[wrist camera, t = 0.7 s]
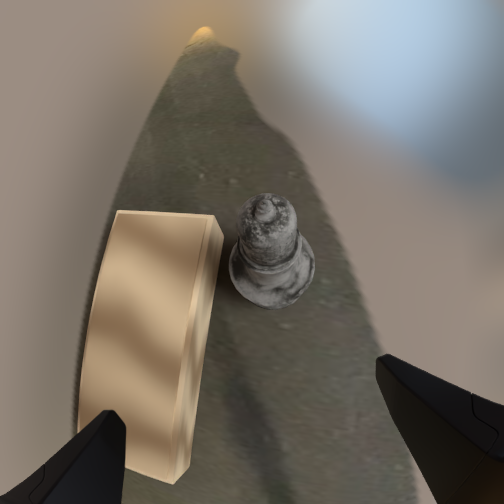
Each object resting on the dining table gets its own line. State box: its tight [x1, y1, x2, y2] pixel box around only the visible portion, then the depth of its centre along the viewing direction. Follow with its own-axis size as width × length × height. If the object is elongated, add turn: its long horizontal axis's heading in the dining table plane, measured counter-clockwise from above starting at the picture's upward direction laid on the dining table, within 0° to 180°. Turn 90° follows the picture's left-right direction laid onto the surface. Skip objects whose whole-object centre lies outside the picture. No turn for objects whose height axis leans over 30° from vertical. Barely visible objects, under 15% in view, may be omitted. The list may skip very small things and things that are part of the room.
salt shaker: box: [229, 193, 315, 309], centre depth 17 cm, size 6×6×12 cm
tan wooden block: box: [78, 210, 224, 484], centre depth 20 cm, size 20×8×4 cm, turn 172°
